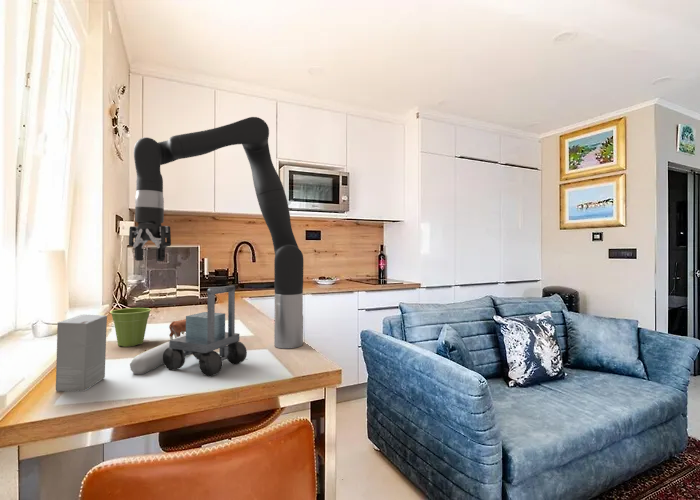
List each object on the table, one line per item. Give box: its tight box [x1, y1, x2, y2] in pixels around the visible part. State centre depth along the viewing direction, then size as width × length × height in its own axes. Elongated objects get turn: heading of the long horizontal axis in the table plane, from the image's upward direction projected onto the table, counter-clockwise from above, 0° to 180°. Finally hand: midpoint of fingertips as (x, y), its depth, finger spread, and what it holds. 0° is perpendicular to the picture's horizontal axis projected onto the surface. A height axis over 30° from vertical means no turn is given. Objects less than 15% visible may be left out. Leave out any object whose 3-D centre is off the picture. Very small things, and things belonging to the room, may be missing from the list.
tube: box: [129, 332, 186, 375], centre depth 103 cm, size 5×5×25 cm
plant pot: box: [109, 307, 152, 347], centre depth 120 cm, size 12×12×11 cm
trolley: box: [163, 284, 248, 377], centre depth 98 cm, size 13×18×22 cm
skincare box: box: [55, 314, 108, 392], centre depth 84 cm, size 8×7×16 cm
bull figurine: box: [168, 318, 186, 341], centre depth 127 cm, size 4×13×8 cm, turn 148°
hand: (149, 260), depth 109 cm, fingers open, 8 cm apart
